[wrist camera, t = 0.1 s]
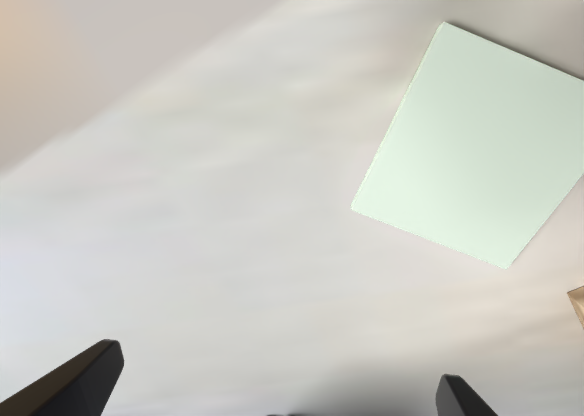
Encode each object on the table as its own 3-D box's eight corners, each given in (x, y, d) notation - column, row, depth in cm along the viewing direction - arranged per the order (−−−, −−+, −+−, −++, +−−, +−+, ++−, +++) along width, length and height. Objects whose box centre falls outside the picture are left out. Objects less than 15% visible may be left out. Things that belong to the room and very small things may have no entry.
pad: (500, 263, 23) (506, 269, 22) (350, 205, 22) (351, 210, 21) (626, 103, 18) (639, 104, 17) (439, 24, 17) (444, 21, 17)
